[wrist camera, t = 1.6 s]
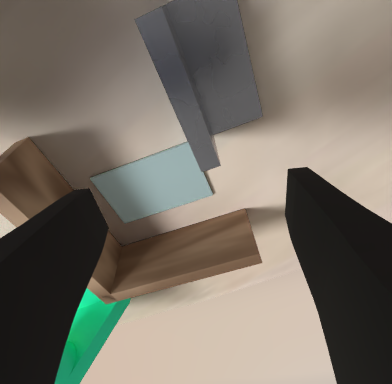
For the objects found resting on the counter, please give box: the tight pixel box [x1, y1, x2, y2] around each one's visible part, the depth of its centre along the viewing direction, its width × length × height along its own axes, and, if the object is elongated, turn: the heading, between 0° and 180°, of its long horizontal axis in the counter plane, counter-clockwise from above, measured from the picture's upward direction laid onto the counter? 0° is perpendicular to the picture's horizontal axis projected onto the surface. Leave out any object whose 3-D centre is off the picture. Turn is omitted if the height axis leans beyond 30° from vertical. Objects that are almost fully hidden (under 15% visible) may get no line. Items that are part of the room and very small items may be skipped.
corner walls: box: [0, 137, 262, 304], centre depth 19 cm, size 14×14×5 cm
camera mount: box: [55, 288, 131, 384], centre depth 25 cm, size 12×8×10 cm, turn 115°
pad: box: [90, 142, 213, 224], centre depth 21 cm, size 9×5×1 cm, turn 111°
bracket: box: [135, 0, 263, 172], centre depth 14 cm, size 8×5×5 cm, turn 21°
